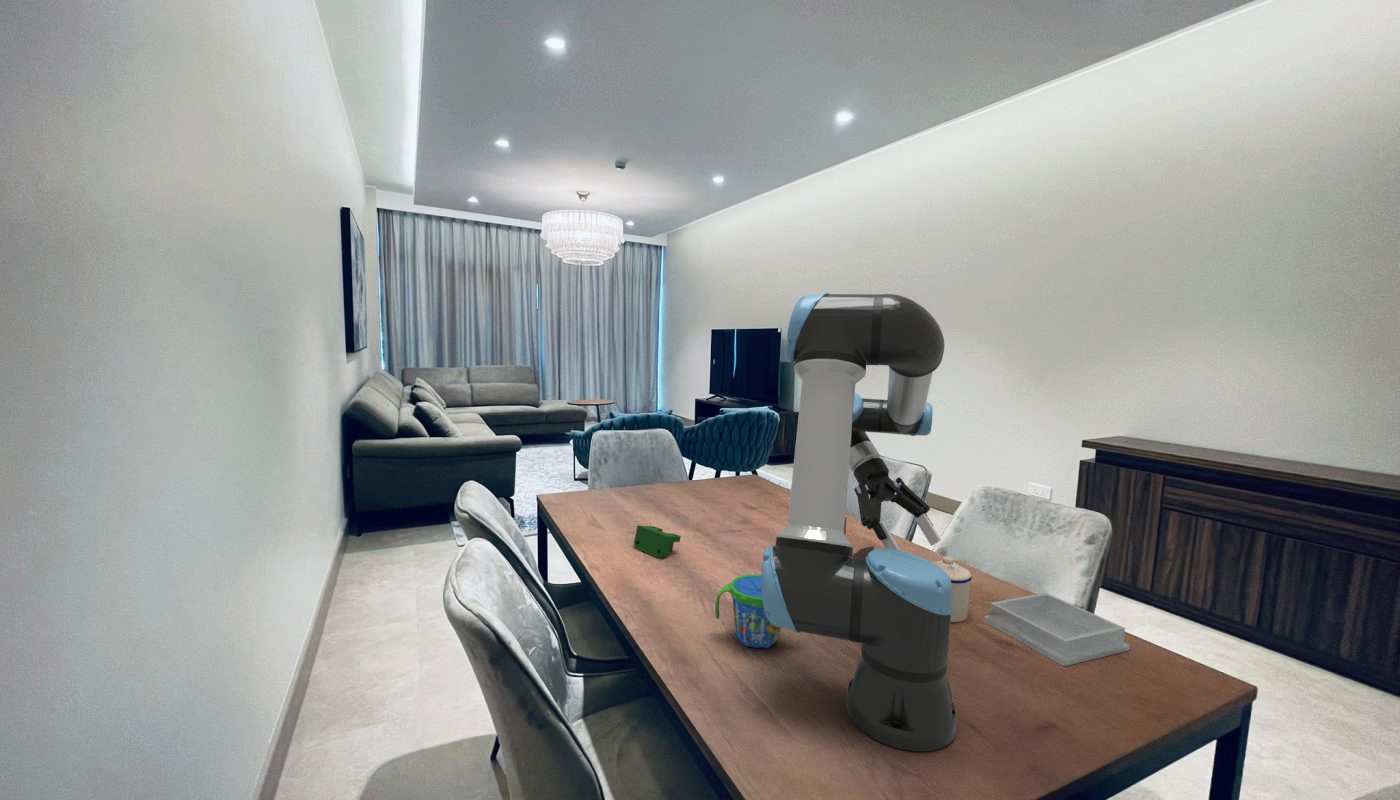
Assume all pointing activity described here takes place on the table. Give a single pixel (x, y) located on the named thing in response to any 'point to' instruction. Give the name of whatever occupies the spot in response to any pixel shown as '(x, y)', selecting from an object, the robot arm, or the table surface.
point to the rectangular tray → (1057, 628)
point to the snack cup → (749, 612)
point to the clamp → (654, 540)
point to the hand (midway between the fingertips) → (916, 547)
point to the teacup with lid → (957, 587)
